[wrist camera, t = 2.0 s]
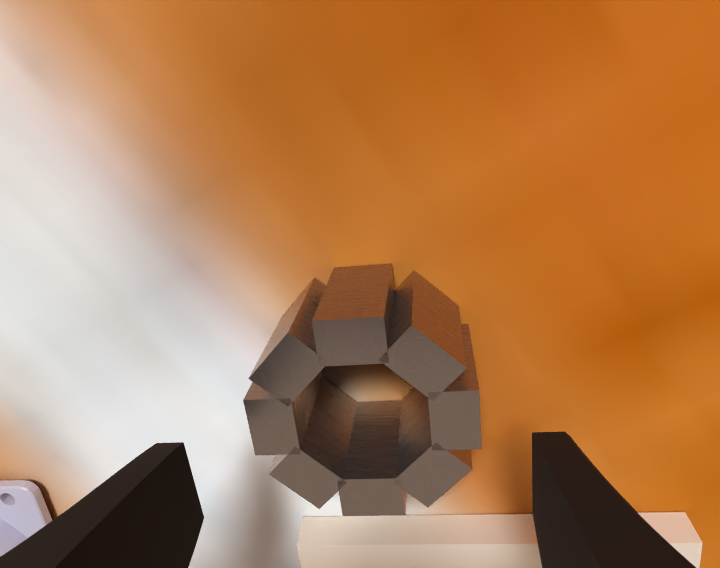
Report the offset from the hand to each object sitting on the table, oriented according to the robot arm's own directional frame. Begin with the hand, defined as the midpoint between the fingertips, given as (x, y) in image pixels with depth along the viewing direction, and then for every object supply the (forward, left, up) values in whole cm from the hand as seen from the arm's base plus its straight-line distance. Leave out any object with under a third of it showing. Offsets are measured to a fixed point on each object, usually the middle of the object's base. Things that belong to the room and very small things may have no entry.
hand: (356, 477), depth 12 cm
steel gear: (0, 0, -5) cm, 5 cm away
